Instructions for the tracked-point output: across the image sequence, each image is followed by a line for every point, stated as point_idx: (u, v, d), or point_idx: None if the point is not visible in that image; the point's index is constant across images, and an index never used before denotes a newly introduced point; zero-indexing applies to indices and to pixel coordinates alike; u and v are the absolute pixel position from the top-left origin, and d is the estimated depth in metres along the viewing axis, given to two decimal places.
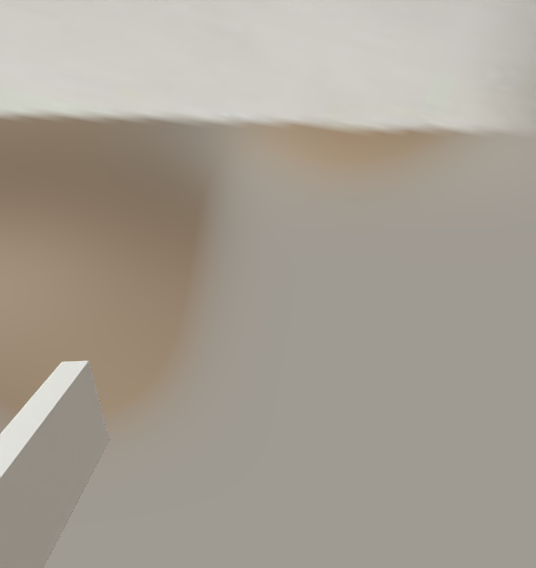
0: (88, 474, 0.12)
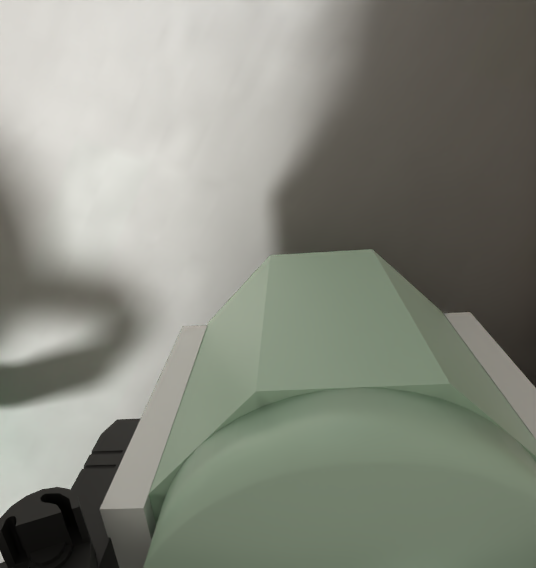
0: None
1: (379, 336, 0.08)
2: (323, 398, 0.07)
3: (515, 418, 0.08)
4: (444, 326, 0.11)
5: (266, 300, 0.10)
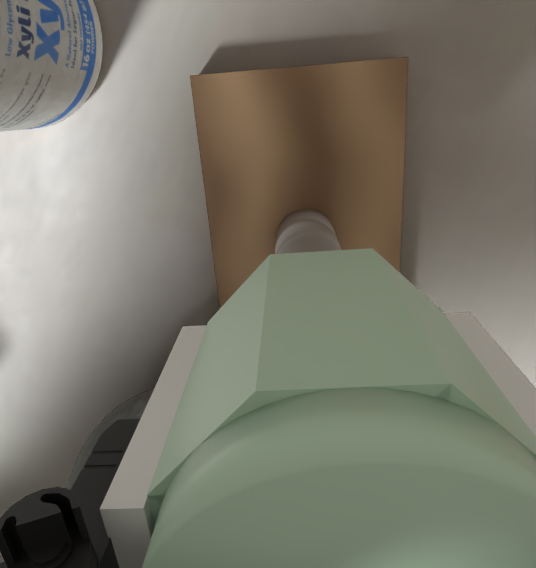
0: None
1: (380, 335, 0.08)
2: (324, 397, 0.07)
3: (517, 418, 0.08)
4: (445, 326, 0.11)
5: (266, 299, 0.10)
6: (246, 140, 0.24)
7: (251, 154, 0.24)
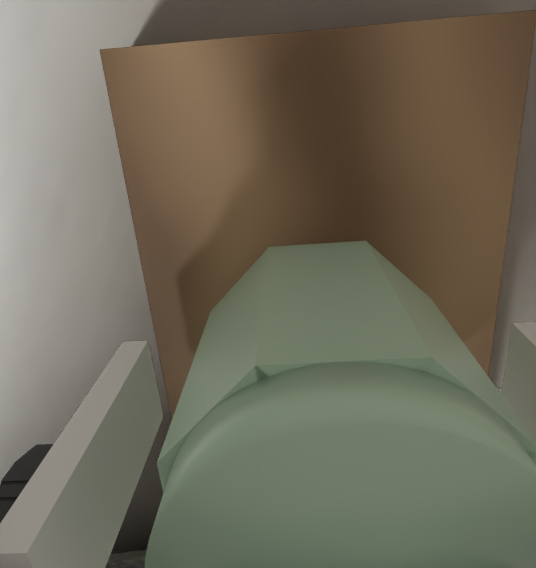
0: (149, 446, 0.12)
1: (369, 317, 0.09)
2: (316, 370, 0.07)
3: (496, 393, 0.09)
4: (433, 312, 0.12)
5: (265, 287, 0.11)
6: (213, 174, 0.13)
7: (225, 199, 0.13)
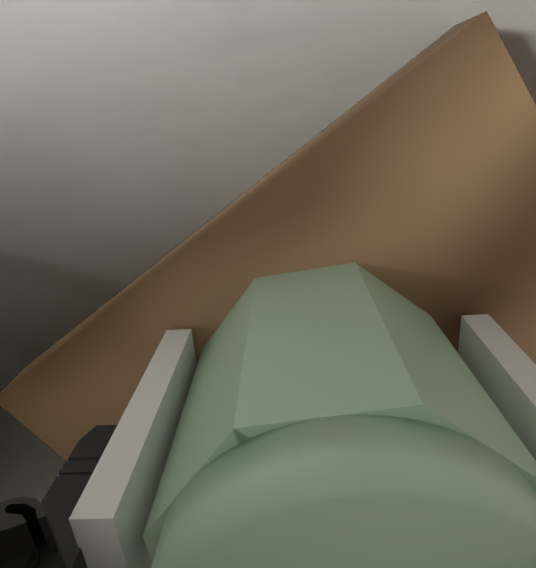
0: None
1: (484, 409, 0.08)
2: (477, 446, 0.07)
3: None
4: None
5: (378, 309, 0.10)
6: (418, 189, 0.12)
7: (399, 213, 0.12)
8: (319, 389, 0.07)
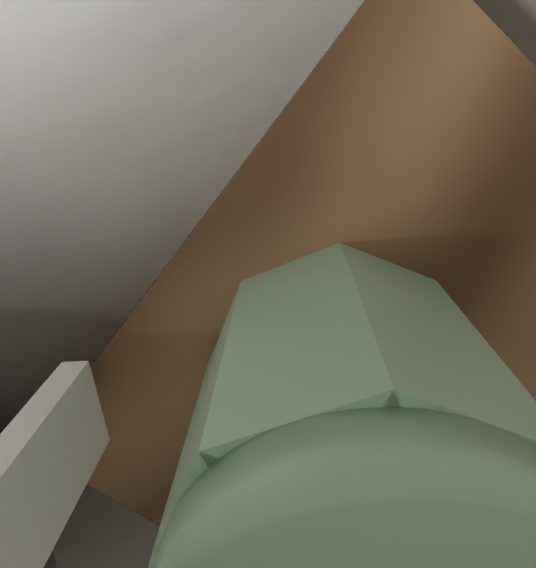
0: (88, 474, 0.12)
1: (489, 376, 0.07)
2: (466, 424, 0.06)
3: None
4: None
5: (358, 289, 0.09)
6: (389, 149, 0.11)
7: (374, 179, 0.11)
8: (288, 391, 0.07)
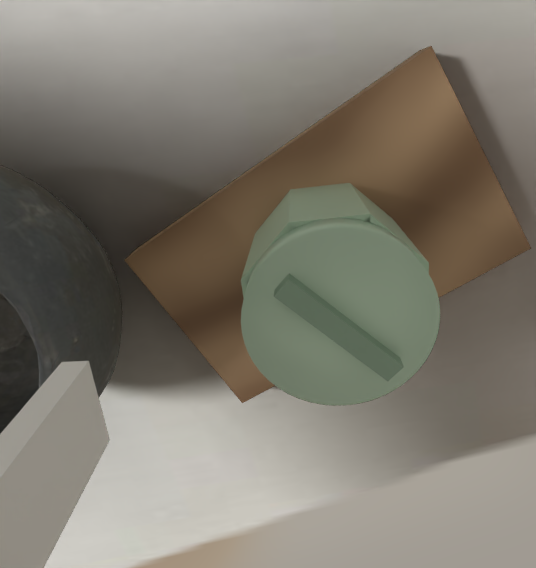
0: (88, 474, 0.12)
1: (404, 238, 0.18)
2: (391, 233, 0.16)
3: None
4: None
5: (358, 195, 0.19)
6: (390, 142, 0.21)
7: (379, 156, 0.21)
8: (326, 213, 0.17)
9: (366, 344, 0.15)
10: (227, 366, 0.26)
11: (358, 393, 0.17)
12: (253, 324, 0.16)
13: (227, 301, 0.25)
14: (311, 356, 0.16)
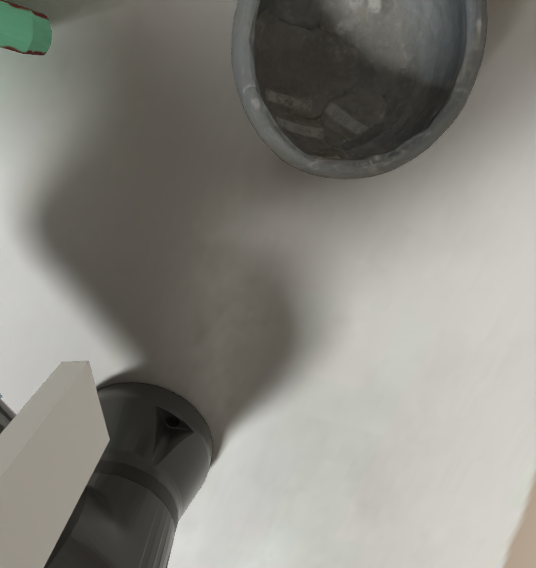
0: (88, 474, 0.12)
1: None
2: None
3: None
4: None
5: None
6: None
7: None
8: None
9: None
10: None
11: None
12: None
13: None
14: None
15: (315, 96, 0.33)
